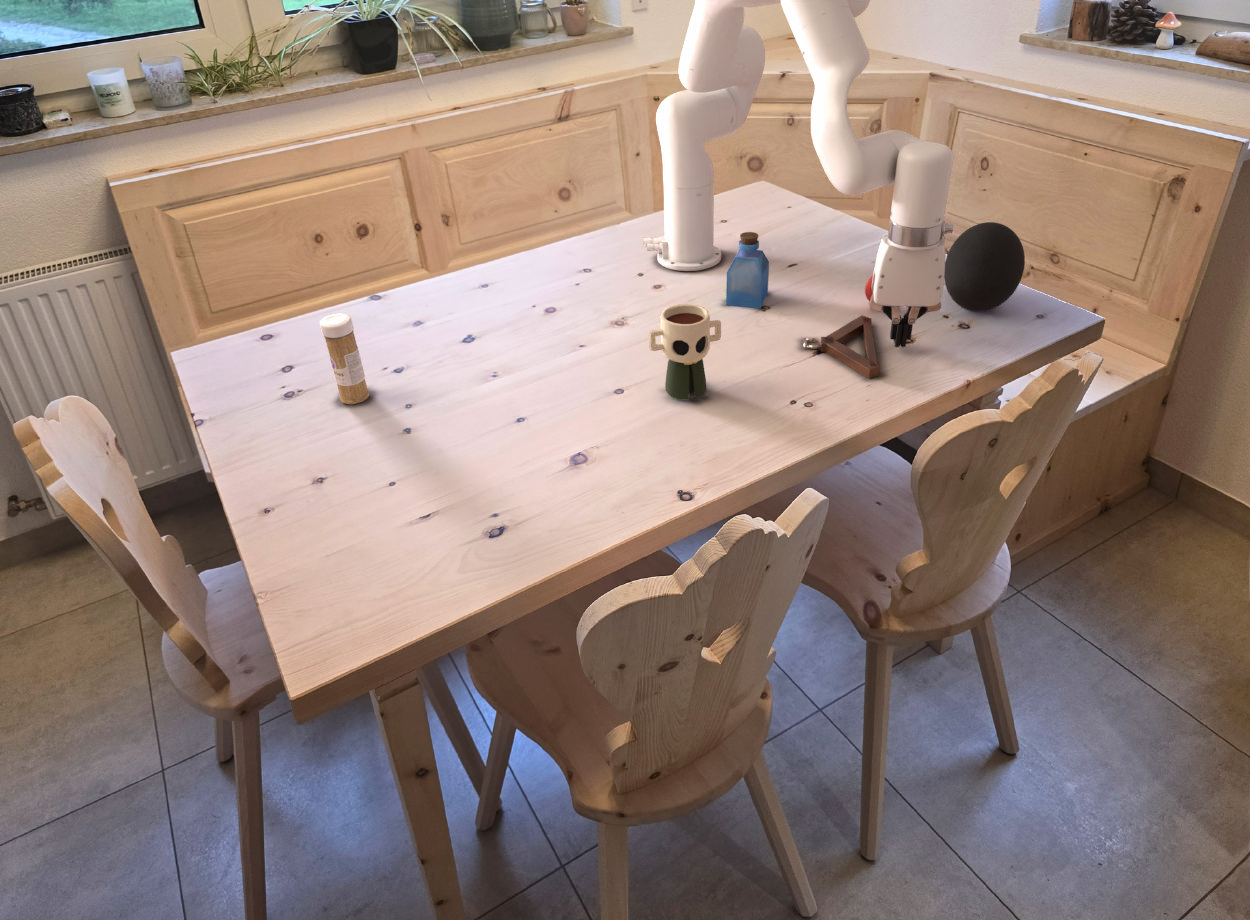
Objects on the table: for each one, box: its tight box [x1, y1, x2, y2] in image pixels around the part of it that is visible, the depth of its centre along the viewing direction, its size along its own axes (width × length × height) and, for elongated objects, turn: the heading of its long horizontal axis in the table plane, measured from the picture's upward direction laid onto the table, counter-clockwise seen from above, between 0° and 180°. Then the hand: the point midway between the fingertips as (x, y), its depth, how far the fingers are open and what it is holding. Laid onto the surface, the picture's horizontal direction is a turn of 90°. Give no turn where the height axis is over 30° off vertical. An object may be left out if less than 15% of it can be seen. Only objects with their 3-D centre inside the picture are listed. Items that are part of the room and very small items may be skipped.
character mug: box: [648, 303, 722, 401], centre depth 131 cm, size 11×7×13 cm, turn 104°
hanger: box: [802, 314, 881, 379], centre depth 143 cm, size 11×18×2 cm, turn 171°
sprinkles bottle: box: [319, 313, 370, 405], centre depth 134 cm, size 5×5×13 cm
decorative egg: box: [944, 221, 1026, 312], centre depth 149 cm, size 12×12×15 cm
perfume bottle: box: [725, 231, 770, 309], centre depth 157 cm, size 6×6×12 cm
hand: (899, 343), depth 141 cm, fingers closed
